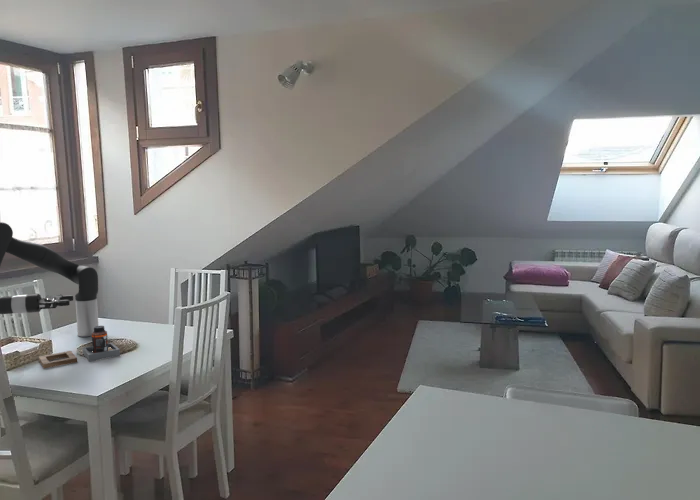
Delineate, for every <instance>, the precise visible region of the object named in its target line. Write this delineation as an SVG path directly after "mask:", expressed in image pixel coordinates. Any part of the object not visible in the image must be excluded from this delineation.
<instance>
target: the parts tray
mask: <svg viewBox="0 0 700 500" xmlns="http://www.w3.org/2000/svg"><path fill="white" fill-rule="evenodd" d="M108 347H111V348H112V349H113V350H109V351H103V352H98V353H93V352H92V351H93V346H92V345H90V346H84V347H81V349H82V355H83V354H84V355H83V357H85V359H86V360H87V361H88V362H94V361H99V360H104V359H109V358H115V357H119V356H121V351H120V350H121V349H120V348H119V347H118V346H117V345H116V344H114V342H108Z"/></svg>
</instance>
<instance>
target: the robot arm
mask: <svg viewBox="0 0 700 500" xmlns="http://www.w3.org/2000/svg"><path fill="white" fill-rule="evenodd" d="M13 234H14V232H13V228H12V227H11V225H10V224H8V223H6V222H3V221H2V222H1V221H0V267H1V265H2V262H3V260H4V257H5V255H6V253H8V254H10V255H12V256H15V257H17V258H18V259H21V260H23V261H26V262H27V263H30V264H31V265H34V266H37V267H38V268H41V269H43V270H46V271H49V272H51V273H56V274H59V275H60V276H62V277H64V278H66V279H68V280H70V281H71V282H73V284H75V285H76V284H77V285H78V292H77V293H76V294H74V295H75V296H74V295H63V294H56V295H55V294H54V295H46V296H45V297H41V294H40V293H30V294H29V293H27V294H26V293H25V294H18V295H9V296H0V315H8V314H9V315H10V314H12V315H13V314H31V313H39V312H41V311H42V310H46V309H47V310H48V309H57V308H59V307H67V306H70V305H71V303H70V302H73V301H74V299H75V311H76V314H75V315H76V316H75V317H76V327H77V328H76V329H77V330H76V331H77V336H78V337H82V338H83V337H92V333H93V332H94V327H95V326H99V312H98V311H99V309H98V297H97V296H98V293H99V277H98V276H99V275H98V272H97V270H96V269H95V268H94V267H93V266H92V267H91V266H87V265H82V264H79V263H75V262H72V261H70V260H68V259H66V258H65V257H64V256H62V255H61V254H60V253H58V252H57V251H56V250H54V249H51V248H50V247H47V246H46V245H43V244H40V243H37V242H36V243H35V242H32V241H26V240H22V239H18V238H16V237H13V236H14V235H13Z"/></svg>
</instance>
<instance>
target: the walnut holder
mask: <svg viewBox="0 0 700 500" xmlns="http://www.w3.org/2000/svg"><path fill="white" fill-rule="evenodd" d="M38 362H39V363H40V365H41V367H42V369H49V368H55V367H60V366H64V365H69V364H76V363H78V358H77V355H75V354H74V352H73V351H72V350H66V351H62V352H56V353H51V354H45V355H40V356H38Z"/></svg>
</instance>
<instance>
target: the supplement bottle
mask: <svg viewBox="0 0 700 500" xmlns="http://www.w3.org/2000/svg"><path fill="white" fill-rule="evenodd" d="M108 338H109V337H108V331H107V330H106V329H105V326H104V325H98V326H95V327H94V332H93V333H92V336H91V343H92V345H91V346H93V353H98V352H103V351H108V343H109V340H108Z"/></svg>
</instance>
